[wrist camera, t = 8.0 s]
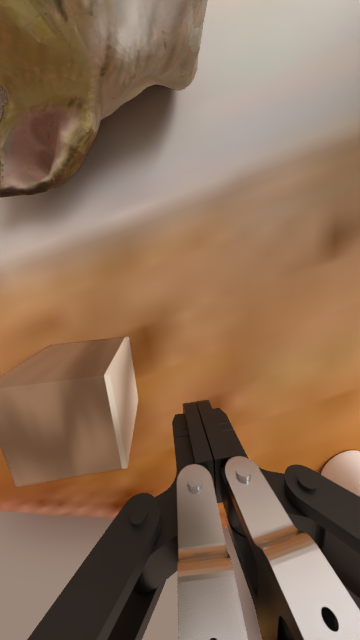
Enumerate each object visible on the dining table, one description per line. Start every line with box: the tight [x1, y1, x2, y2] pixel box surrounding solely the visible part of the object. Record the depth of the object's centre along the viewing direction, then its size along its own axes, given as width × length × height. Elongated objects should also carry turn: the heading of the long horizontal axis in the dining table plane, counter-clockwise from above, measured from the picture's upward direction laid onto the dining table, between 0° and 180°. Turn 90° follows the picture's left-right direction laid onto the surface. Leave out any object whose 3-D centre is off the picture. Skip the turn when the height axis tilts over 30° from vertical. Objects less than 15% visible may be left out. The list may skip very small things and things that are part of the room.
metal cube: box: [0, 337, 138, 487], centre depth 13 cm, size 6×6×6 cm
